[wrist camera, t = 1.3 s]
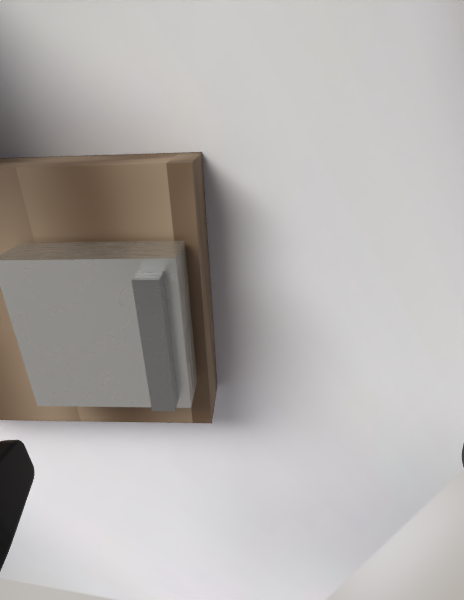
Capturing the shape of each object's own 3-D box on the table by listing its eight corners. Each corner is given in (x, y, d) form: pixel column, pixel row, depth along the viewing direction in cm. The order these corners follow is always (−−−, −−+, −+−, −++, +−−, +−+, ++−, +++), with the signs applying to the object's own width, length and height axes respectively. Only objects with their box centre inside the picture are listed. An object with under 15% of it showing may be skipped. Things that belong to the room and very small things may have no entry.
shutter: (184, 240, 17) (171, 266, 15) (197, 379, 20) (188, 420, 18) (19, 243, 18) (-21, 268, 15) (56, 378, 21) (28, 418, 18)
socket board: (201, 152, 19) (192, 162, 16) (217, 386, 24) (211, 423, 22) (-135, 162, 20) (-197, 173, 17) (-45, 384, 26) (-80, 418, 23)
